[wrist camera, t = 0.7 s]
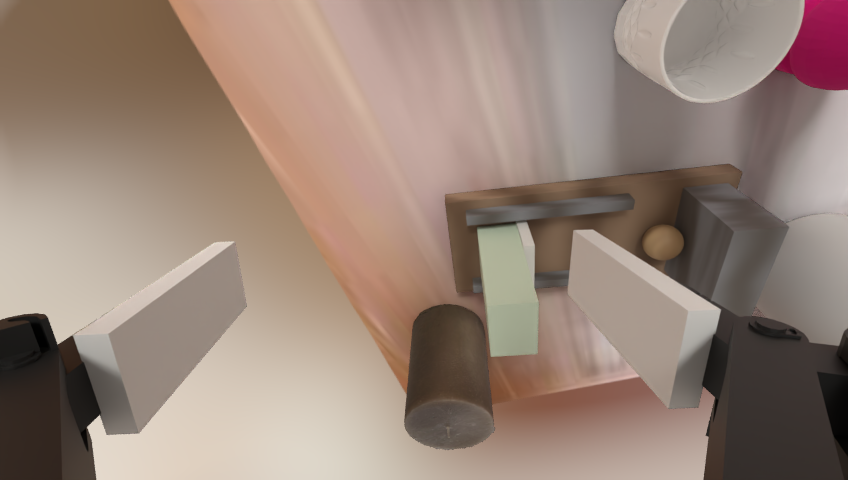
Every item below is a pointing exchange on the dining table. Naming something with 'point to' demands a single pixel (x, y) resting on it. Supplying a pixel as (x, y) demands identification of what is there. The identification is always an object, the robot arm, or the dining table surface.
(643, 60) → the white cup
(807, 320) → the cylinder vase
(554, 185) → the press bench
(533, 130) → the dining table surface
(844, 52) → the pink bowling pin
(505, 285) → the block
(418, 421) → the pillar candle
